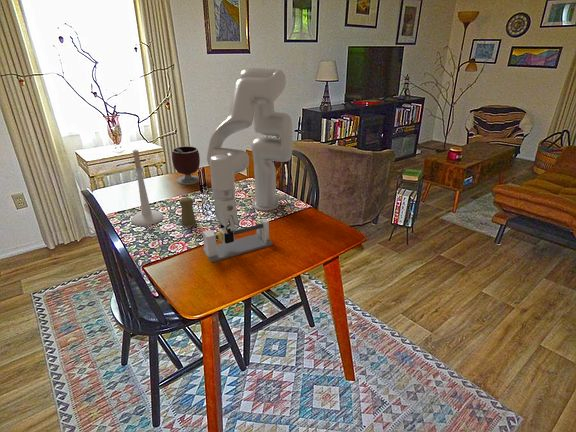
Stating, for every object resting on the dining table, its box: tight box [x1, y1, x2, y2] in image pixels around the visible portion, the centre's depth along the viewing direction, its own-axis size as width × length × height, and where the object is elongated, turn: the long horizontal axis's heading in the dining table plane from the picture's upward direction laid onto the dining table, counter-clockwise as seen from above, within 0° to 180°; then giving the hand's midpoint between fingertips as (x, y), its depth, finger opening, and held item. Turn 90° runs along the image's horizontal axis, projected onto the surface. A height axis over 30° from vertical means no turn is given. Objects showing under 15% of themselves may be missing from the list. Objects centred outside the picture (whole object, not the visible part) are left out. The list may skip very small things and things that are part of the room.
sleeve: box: [218, 227, 230, 243], centre depth 125 cm, size 4×4×4 cm
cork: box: [179, 196, 197, 227], centre depth 144 cm, size 6×6×11 cm
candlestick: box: [130, 149, 164, 227], centre depth 143 cm, size 13×13×30 cm
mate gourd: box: [171, 145, 201, 185], centre depth 185 cm, size 16×14×20 cm
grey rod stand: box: [202, 218, 274, 263], centre depth 128 cm, size 24×9×9 cm, turn 121°
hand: (226, 238), depth 126 cm, fingers closed on sleeve, 4 cm apart
